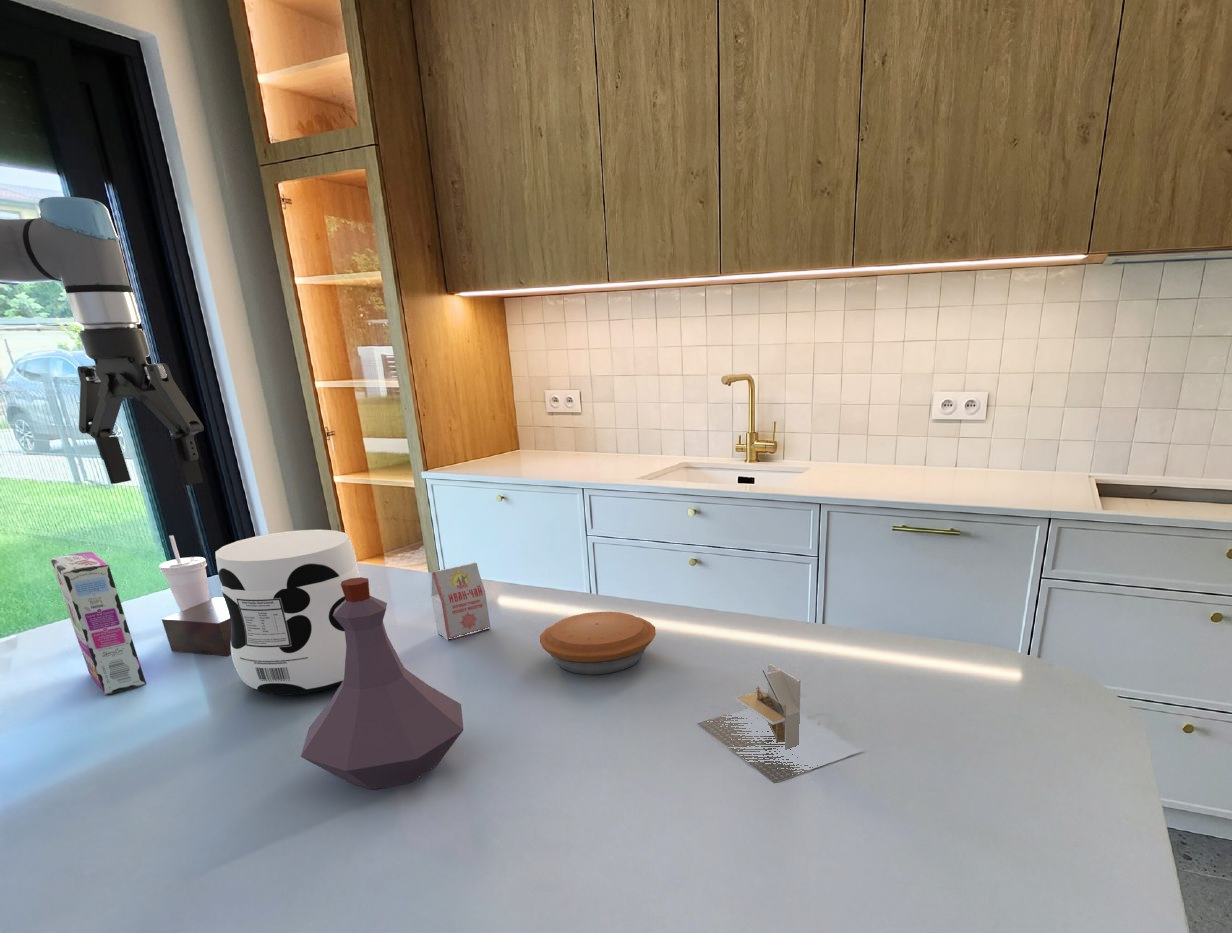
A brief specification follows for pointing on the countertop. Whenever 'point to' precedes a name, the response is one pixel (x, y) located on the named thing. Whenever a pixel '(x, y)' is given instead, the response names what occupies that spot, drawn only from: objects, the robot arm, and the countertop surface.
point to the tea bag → (459, 601)
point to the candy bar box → (98, 621)
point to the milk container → (287, 608)
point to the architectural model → (781, 717)
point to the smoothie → (186, 579)
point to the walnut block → (200, 629)
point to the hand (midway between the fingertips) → (156, 483)
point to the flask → (379, 706)
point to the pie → (597, 641)
